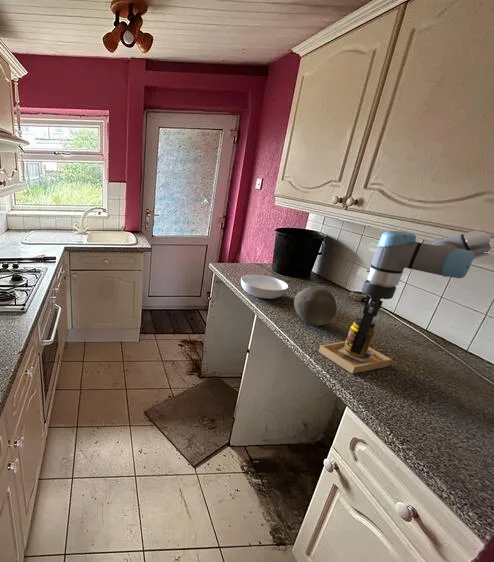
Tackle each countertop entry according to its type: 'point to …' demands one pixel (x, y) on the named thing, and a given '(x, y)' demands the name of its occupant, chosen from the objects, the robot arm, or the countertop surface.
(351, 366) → the tray
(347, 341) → the condiment
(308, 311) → the grey round rock
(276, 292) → the serving bowl
